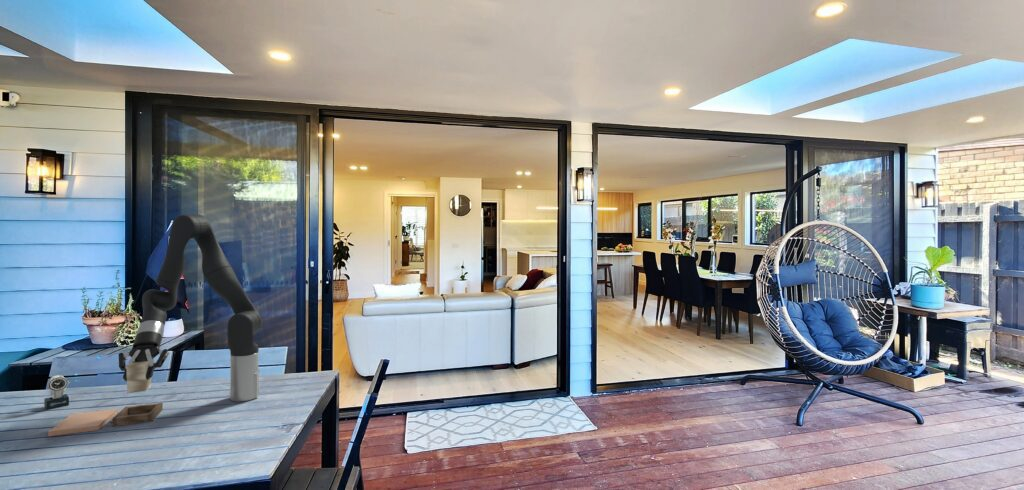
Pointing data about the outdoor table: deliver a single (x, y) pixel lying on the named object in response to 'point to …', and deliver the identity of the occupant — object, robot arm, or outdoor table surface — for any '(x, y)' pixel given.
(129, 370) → the ash block
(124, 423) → the walnut pocket frame
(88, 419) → the terracotta tile
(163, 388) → the outdoor table surface
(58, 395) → the watch
